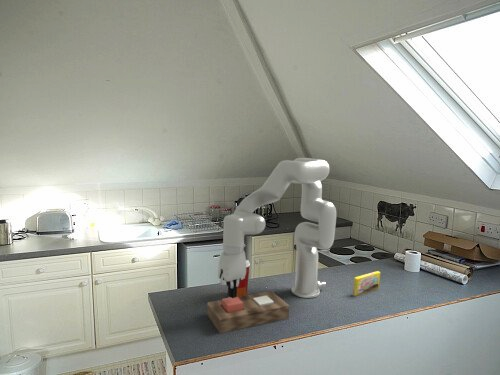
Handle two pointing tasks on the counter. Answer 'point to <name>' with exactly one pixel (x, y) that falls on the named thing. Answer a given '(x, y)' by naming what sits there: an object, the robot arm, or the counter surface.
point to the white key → (263, 301)
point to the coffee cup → (243, 283)
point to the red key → (232, 304)
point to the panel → (247, 313)
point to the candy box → (366, 283)
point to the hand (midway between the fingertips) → (232, 296)
